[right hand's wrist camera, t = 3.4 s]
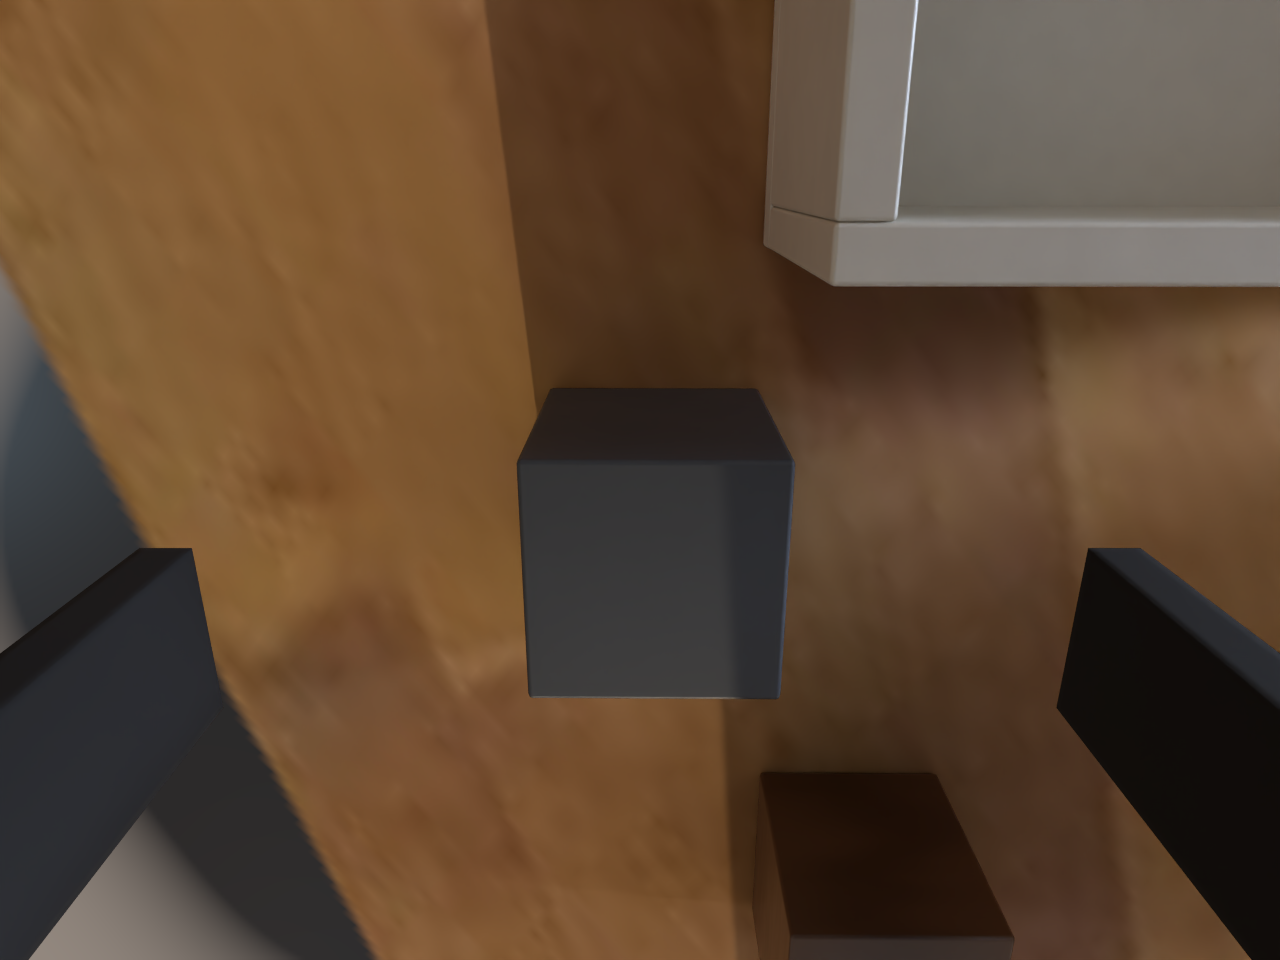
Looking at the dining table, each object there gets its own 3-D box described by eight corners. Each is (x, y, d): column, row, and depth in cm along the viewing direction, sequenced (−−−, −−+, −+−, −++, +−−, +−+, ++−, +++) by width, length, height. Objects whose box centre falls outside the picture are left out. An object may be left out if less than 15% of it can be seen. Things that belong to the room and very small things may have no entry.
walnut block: (936, 772, 22) (1016, 938, 17) (917, 909, 23) (985, 1096, 18) (759, 771, 22) (790, 936, 17) (751, 907, 23) (777, 1094, 18)
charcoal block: (758, 387, 18) (796, 461, 14) (749, 576, 20) (780, 701, 15) (549, 387, 18) (515, 460, 14) (556, 575, 20) (528, 699, 15)
